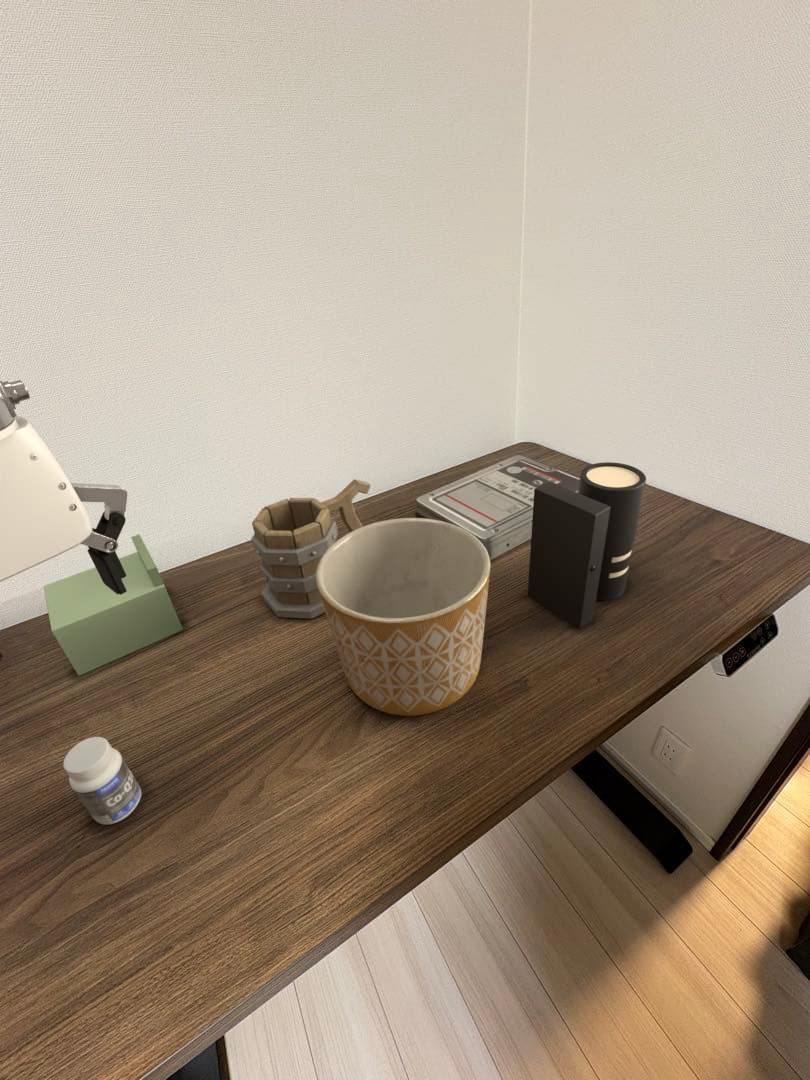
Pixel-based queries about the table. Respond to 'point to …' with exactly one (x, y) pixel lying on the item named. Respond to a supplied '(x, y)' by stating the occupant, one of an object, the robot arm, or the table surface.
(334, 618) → the planter
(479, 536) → the hard drive
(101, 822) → the pill bottle
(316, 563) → the tankard
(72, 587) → the green block with fin
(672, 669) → the table surface
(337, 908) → the table surface
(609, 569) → the light fixture
